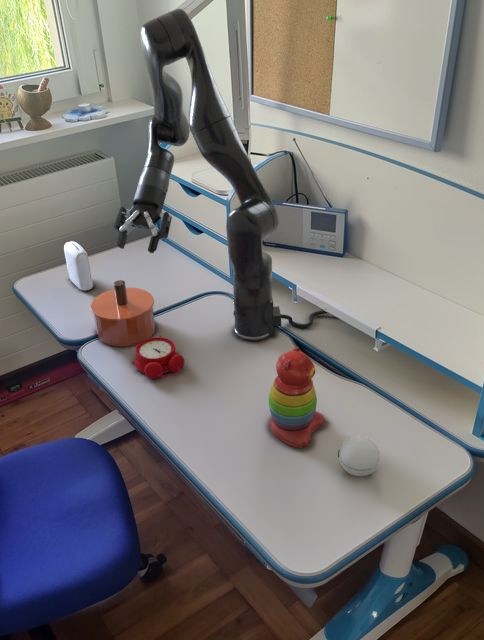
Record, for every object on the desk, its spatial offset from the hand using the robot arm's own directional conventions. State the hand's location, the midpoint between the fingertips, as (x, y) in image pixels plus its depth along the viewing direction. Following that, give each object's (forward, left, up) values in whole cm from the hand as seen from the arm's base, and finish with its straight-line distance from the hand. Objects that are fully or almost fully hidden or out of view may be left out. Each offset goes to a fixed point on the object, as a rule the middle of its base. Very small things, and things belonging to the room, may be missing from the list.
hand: (135, 249), depth 164 cm
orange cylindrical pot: (+4, +8, -18) cm, 20 cm away
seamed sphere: (-42, +63, -18) cm, 78 cm away
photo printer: (+19, -19, -18) cm, 32 cm away
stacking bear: (-33, +49, -18) cm, 62 cm away
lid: (+4, +8, -11) cm, 14 cm away
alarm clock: (-5, +25, -18) cm, 31 cm away
